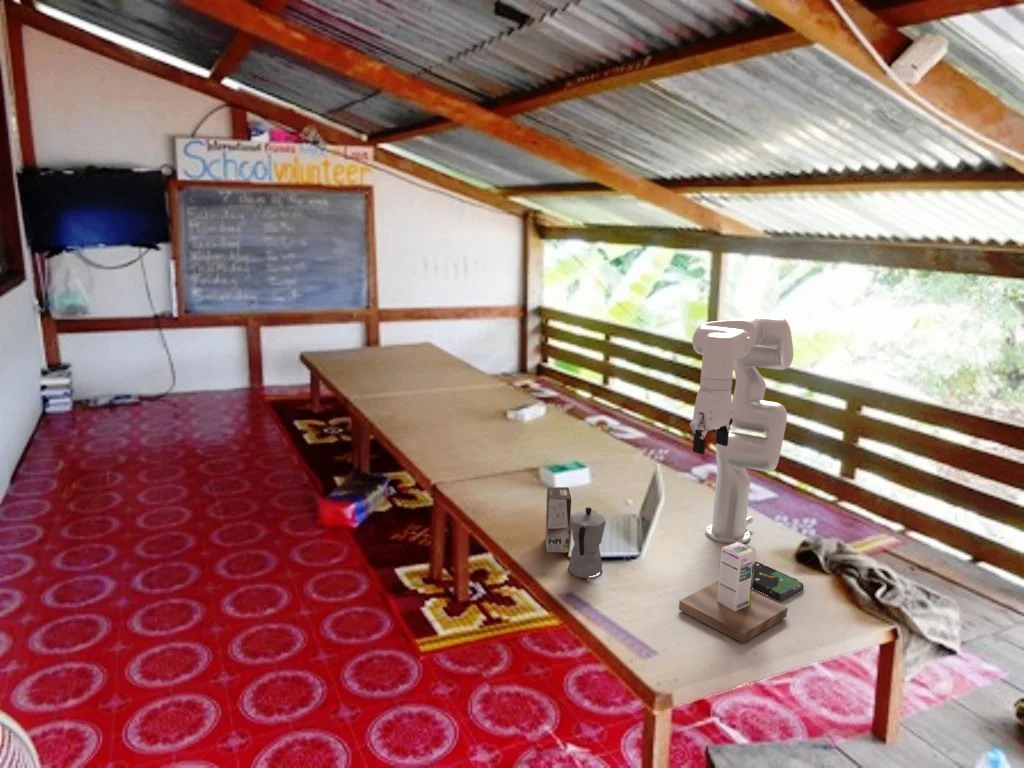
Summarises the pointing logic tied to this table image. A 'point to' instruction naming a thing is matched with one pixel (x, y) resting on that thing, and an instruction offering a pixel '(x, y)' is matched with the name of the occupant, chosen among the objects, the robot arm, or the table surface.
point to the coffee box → (558, 519)
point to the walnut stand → (733, 613)
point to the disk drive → (775, 583)
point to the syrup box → (736, 576)
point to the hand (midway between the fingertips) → (710, 448)
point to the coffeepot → (586, 543)
